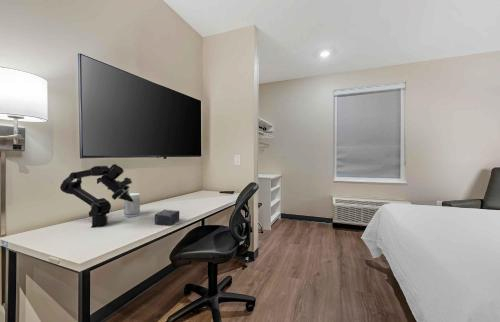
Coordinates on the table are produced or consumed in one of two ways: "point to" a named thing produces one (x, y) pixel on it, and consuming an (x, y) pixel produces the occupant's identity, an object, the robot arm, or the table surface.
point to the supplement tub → (132, 206)
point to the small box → (166, 217)
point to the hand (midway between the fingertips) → (132, 201)
